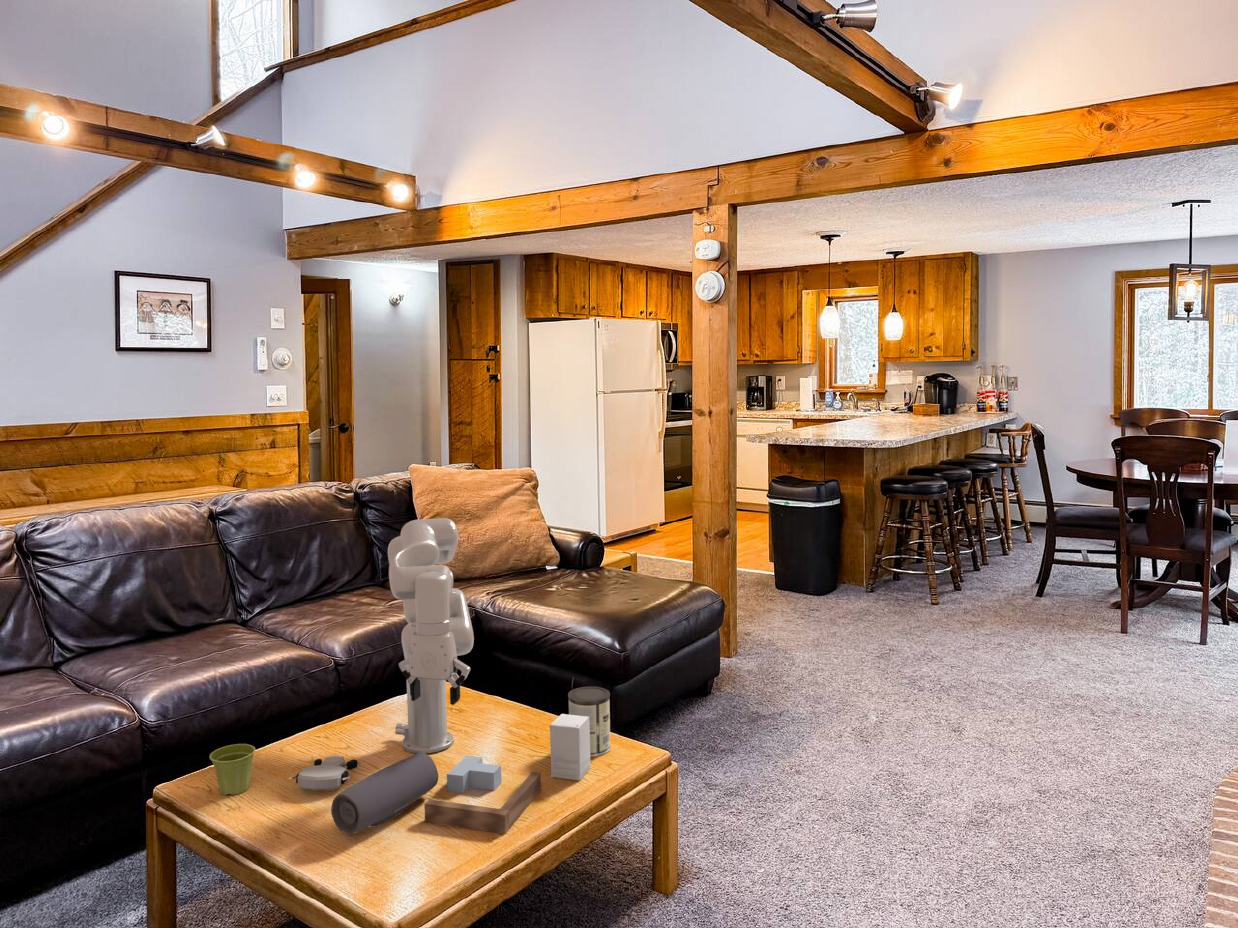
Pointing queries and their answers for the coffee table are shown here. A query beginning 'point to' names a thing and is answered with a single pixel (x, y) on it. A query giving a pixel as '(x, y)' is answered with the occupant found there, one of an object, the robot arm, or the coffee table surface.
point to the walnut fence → (485, 810)
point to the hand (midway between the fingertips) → (435, 700)
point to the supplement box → (570, 747)
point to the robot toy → (326, 773)
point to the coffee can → (593, 715)
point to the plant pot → (233, 767)
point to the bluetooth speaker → (384, 793)
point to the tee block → (473, 775)
